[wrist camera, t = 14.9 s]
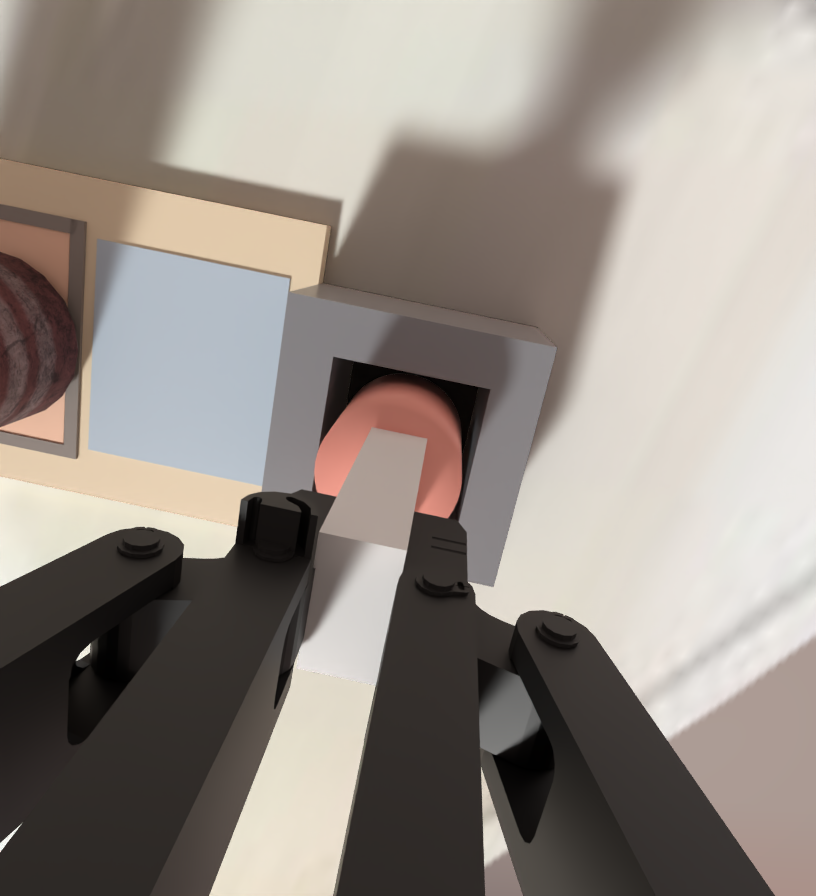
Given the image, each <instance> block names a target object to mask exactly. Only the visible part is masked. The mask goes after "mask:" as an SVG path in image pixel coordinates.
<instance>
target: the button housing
mask: <svg viewBox="0 0 816 896" xmlns="http://www.w3.org/2000/svg"><path fill="white" fill-rule="evenodd" d="M556 351H557V347H556V346H555V345H554V344H553V343H552V342H551V341H550V340H549V339H548V338H547V337H546V336H545V334H544V333H543V332H542V331H541V330H540V329H539V328H538V327H533V326H528V325H523V324H519V323H514V322H509V321H504V320H499V319H494V318H489V317H485V316H480V315H475V314H470V313H465V312H460V311H456V310H451V309H446V308H441V307H436V306H431V305H426V304H422V303H417V302H412V301H407V300H402V299H397V298H393V297H388V296H383V295H378V294H373V293H368V292H363V291H359V290H354V289H349V288H344V287H339V286H334V285H330V284H325V283H321V284H317V285H313V286H310V287H306V288H302V289H298V290H294V291H290V292H288V297H287V304H286V312H285V319H284V327H283V334H282V342H281V349H280V357H279V364H278V372H277V379H276V387H275V394H274V402H273V409H272V417H271V424H270V432H269V439H268V447H267V454H266V462H265V469H264V476H263V484H262V491H261V492H273V491H275V492H283V493H290V494H292V493H294V492H296V491H299V490H301V489H303V490H308V491H313V492H317V490H316V484H315V475H314V469H315V461H316V456H317V453H318V450H319V447H320V445H321V443H322V441H323V439H324V438H325V436H326V435H327V433H328V432H329V430H330V429H331V428H332V426H333V425H334V423H335V422H336V421H337V419H338V418H339V416H340V415H341V414H342V412H343V411H344V409H345V408H346V404H347V398H348V393H349V387H350V381H351V375H352V369H353V363H354V361H357V362H361V363H366V364H371V365H376V366H381V367H385V368H390V369H395V370H400V371H405V372H410V373H414V374H419V375H424V376H429V377H434V378H438V379H443V380H448V381H453V382H458V383H462V384H467V385H472V386H477V387H478V391H477V395H476V400H475V404H474V408H473V413H472V417H471V421H470V425H469V430H468V434H467V438H466V443H465V447H464V451H463V455H462V484H461V490H460V495H459V498H458V501H457V503H456V505H455V508H454V510H453V511H452V513H451V514H450V516H449V517H448V519H452V520H457V521H458V522H459V523H460V524H461V526H462V527H463V528H464V529H465V531H466V532H467V571H468V582H473V583H477V584H482V585H487V586H491V587H494V583H495V579H496V576H497V572H498V568H499V564H500V561H501V557H502V553H503V549H504V546H505V542H506V538H507V534H508V531H509V527H510V523H511V519H512V516H513V512H514V508H515V504H516V501H517V497H518V493H519V489H520V486H521V482H522V478H523V474H524V471H525V467H526V463H527V460H528V456H529V452H530V448H531V445H532V441H533V437H534V433H535V430H536V426H537V422H538V418H539V415H540V411H541V407H542V403H543V400H544V396H545V392H546V388H547V385H548V381H549V377H550V373H551V370H552V366H553V362H554V358H555V355H556Z"/></svg>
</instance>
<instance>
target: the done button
mask: <svg viewBox="0 0 816 896" xmlns="http://www.w3.org/2000/svg"><path fill="white" fill-rule="evenodd" d="M372 427H374V428H379V429H384V430H388V431H393V432H398V433H403V434H407V435H412V436H417V437H422V438H426V439H427V444H426V450H425V455H424V461H423V466H422V472H421V477H420V483H419V488H418V493H417V499H416V504H415V510H414V511H415V512H419V513H424V514H429V515H434V516H438V517H443V518H448V517H449V516H450V514H451V513H452V511H453V510H454V508H455V505H456V503H457V501H458V498H459V495H460V490H461V484H462V445H461V422H460V418H459V414H458V412H457V409H456V407H455V405H454V404H453V402H452V400H451V399H450V398H449V396H448V395H447V394H446V393H445V392H444V391H443V390H442V389H441V388H440V387H439V386H437V385H436V384H434V383H433V382H431V381H429V380H427V379H425V378H423V377H420V376H416V375H412V374H400V373H397V374H389V375H385V376H382V377H379V378H377V379H374V380H373V381H371V382H369V383H367V384H366V385H365V386H363V387H362V388H361V389H360V390H359V391H358V392H357V393H356V394H355V396H354V397H353V398H352V400H351V401H350V402H349V404H348V405H347V407H346V408H345V409H344V411H343V412H342V414H341V415H340V416H339V418H338V419H337V421H336V422H335V423H334V425H333V426H332V428H331V429H330V430H329V432H328V433H327V435H326V436H325V438H324V439H323V441H322V443H321V445H320V447H319V450H318V453H317V456H316V461H315V469H314V475H315V484H316V490H317V493H322V494H327V495H331V496H336V497H337V495H338V493H339V491H340V489H341V487H342V485H343V483H344V481H345V479H346V477H347V475H348V474H349V472H350V470H351V468H352V466H353V464H354V462H355V460H356V458H357V456H358V454H359V452H360V450H361V448H362V446H363V444H364V442H365V440H366V438H367V436H368V434H369V432H370V430H371V428H372Z"/></svg>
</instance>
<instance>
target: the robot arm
mask: <svg viewBox="0 0 816 896" xmlns="http://www.w3.org/2000/svg"><path fill="white" fill-rule="evenodd" d="M426 444H427V439H426V438H422V437H417V436H412V435H407V434H403V433H398V432H393V431H388V430H384V429H379V428H374V427H372V428H371V430H370V432H369V434H368V436H367V438H366V440H365V442H364V444H363V446H362V448H361V450H360V452H359V454H358V456H357V458H356V460H355V462H354V464H353V466H352V468H351V470H350V472H349V474H348V475H347V477H346V479H345V481H344V483H343V485H342V487H341V489H340V491H339V493H338V495H337V497H336V496H331V495H327V494H322V493H317V492H313V491H308V490H303V489H301V490H299V491H296V492H294V493H292V494H290V493H283V492H275V491H273V492H258V493H253V494H249V495H247V496H246V497H244V498H243V499H241V503H240V511H239V519H238V527H237V535H236V543H235V545H234V546H233V547H232V549H231V550H230V551H229V553H228V554H227V555H226V557H225V558H218V559H196V558H183V549H184V544H183V543H182V542H181V540H180V539H179V538H178V537H176V536H174V535H172V534H171V533H169V532H165V531H161V530H157V529H155V528H149V527H147V528H145V527H135V528H131V529H123V530H119V531H116V532H113V533H110V534H107V535H105V536H103V537H101V538H99V539H97V540H95V541H93V542H91V543H89V544H87V545H85V546H82V547H80V548H78V549H76V550H74V551H72V552H70V553H68V554H66V555H64V556H62V557H60V558H58V559H56V560H54V561H52V562H50V563H48V564H46V565H44V566H42V567H40V568H38V569H36V570H34V571H32V572H29V573H27V574H25V575H23V576H21V577H19V578H17V579H15V580H13V581H11V582H9V583H7V584H5V585H3V586H1V587H0V843H1V842H2V841H3V840H4V839H5V838H6V837H7V836H8V835H9V834H10V833H12V832H13V831H14V830H15V829H16V828H17V827H18V826H19V825H20V824H22V825H21V826H20V827H19V828H18V830H17V831H16V832H15V834H14V835H13V836H12V838H11V839H10V840H9V842H8V843H7V844H6V846H5V847H4V848H3V849H2V851H1V852H0V896H209V894H210V892H211V889H212V886H213V884H214V881H215V879H216V876H217V874H218V871H219V868H220V866H221V863H222V861H223V858H224V855H225V853H226V850H227V848H228V845H229V843H230V840H231V837H232V835H233V832H234V830H235V827H236V825H237V822H238V819H239V817H240V814H241V812H242V809H243V807H244V804H245V801H246V799H247V796H248V794H249V791H250V789H251V786H252V783H253V781H254V778H255V776H256V773H257V771H258V768H259V765H260V763H261V760H262V758H263V755H264V753H265V750H266V747H267V745H268V742H269V740H270V737H271V735H272V732H273V729H274V727H275V724H276V722H277V719H278V717H279V714H280V711H281V709H282V706H283V704H284V701H285V699H286V696H287V693H288V691H289V688H290V684H291V678H292V672H293V666H294V661H295V659H296V657H297V654H298V652H299V655H298V661H297V667H296V668H297V669H301V670H306V671H311V672H315V673H320V674H324V675H329V676H333V677H338V678H343V679H347V680H352V681H356V682H361V683H366V684H370V685H375V686H376V687H375V692H374V697H373V701H372V706H371V711H370V715H369V720H368V725H367V729H366V734H365V739H364V740H365V741H364V746H363V751H362V756H361V761H360V765H359V770H358V775H357V780H356V785H355V790H354V795H353V800H352V805H351V810H350V815H349V820H348V825H347V830H346V835H345V840H344V845H343V850H342V855H341V860H340V864H339V869H338V874H337V879H336V884H335V889H334V894H333V896H485V883H484V882H485V881H484V849H483V819H482V788H481V767H482V770H483V773H484V776H485V780H486V783H487V786H488V789H489V792H490V795H491V798H492V801H493V804H494V807H495V810H496V813H497V817H498V820H499V823H500V826H501V829H502V832H503V835H504V838H505V841H506V844H507V847H508V850H509V854H510V857H511V860H512V863H513V866H514V869H515V872H516V875H517V878H518V881H519V884H520V887H521V891H522V893H523V896H775V895H774V894H773V892H772V891H771V890H770V888H769V887H768V885H767V884H766V882H765V881H764V879H763V878H762V876H761V875H760V873H759V872H758V871H757V869H756V868H755V866H754V865H753V863H752V862H751V861H750V859H749V858H748V856H747V855H746V853H745V852H744V850H743V849H742V848H741V846H740V845H739V843H738V842H737V840H736V839H735V838H734V836H733V835H732V833H731V832H730V830H729V829H728V827H727V826H726V825H725V823H724V822H723V820H722V819H721V817H720V816H719V815H718V813H717V812H716V810H715V809H714V807H713V806H712V804H711V803H710V802H709V800H708V799H707V797H706V796H705V794H704V793H703V791H702V790H701V789H700V787H699V786H698V784H697V783H696V781H695V780H694V779H693V777H692V776H691V774H690V773H689V771H688V770H687V769H686V767H685V765H684V764H683V763H682V761H681V760H680V758H679V757H678V756H677V754H676V753H675V751H674V750H673V748H672V747H671V745H670V744H669V742H668V741H667V740H666V738H665V737H664V735H663V734H662V732H661V731H660V729H659V728H658V727H657V725H656V724H655V722H654V721H653V719H652V718H651V716H650V715H649V714H648V712H647V711H646V709H645V708H644V706H643V705H642V704H641V702H640V701H639V699H638V698H637V696H636V695H635V693H634V692H633V691H632V689H631V688H630V686H629V685H628V683H627V682H626V680H625V679H624V678H623V676H622V675H621V673H620V672H619V670H618V669H617V668H616V666H615V665H614V663H613V662H612V660H611V659H610V657H609V656H608V655H607V653H606V652H605V650H604V649H603V647H602V646H601V644H600V643H599V642H598V640H597V639H596V637H595V636H594V635H593V634H592V633H591V632H590V631H589V630H588V629H587V628H586V627H585V626H583V625H581V624H580V623H578V622H577V621H575V620H574V619H573V618H571V617H568V616H566V615H565V616H564V615H563V614H561V613H557V612H549V611H544V610H539V611H528V612H526V613H524V614H521V615H520V617H519V618H518V620H517V622H516V625H515V626H513V625H511V624H508V623H506V622H503V621H501V620H499V619H497V618H495V617H493V616H491V615H489V614H487V613H486V612H484V611H483V610H481V609H480V608H479V607H478V606H477V605H476V603H475V593H474V590H473V587H472V586H471V585H470V584H469V583H468V571H467V532H466V531H465V529H464V528H463V527H462V526H461V524H460V523H459V522H458V521H457V520H452V519H448V518H443V517H438V516H434V515H429V514H424V513H419V512H415V511H414V510H415V504H416V499H417V493H418V488H419V483H420V477H421V472H422V466H423V461H424V455H425V450H426ZM90 643H91V646H90V653H89V654H87V655H86V656H85V657H83V658H82V659H80V660H78V661H76V659H77V658H78V656H79V654H80V653H81V652H82V651H83V650H84V649H85V648H86V647H87V646H88V645H89V644H90Z"/></svg>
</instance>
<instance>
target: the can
mask: <svg viewBox="0 0 816 896" xmlns="http://www.w3.org/2000/svg"><path fill="white" fill-rule="evenodd" d="M77 355H78V341H77V334H76V328H75V323H74V321H73V318H72V316H71V314H70V312H69V310H68V307H67V305H66V303H65V301H64V300H63V298H62V297H61V296H60V295H59V293H58V292H57V291H56V290H55V288H54V287H53V286H52V285H51V284H50V282H49V281H48V280H47V279H46V277H45V276H44V275H42V274H41V273H40V272H38V271H37V270H35V269H34V268H33V267H31V266H30V265H28V264H27V263H26V262H24V261H23V260H21V259H20V258H17V257H14V256H11V255H8V254H5V253H2V252H0V427H3V426H5V425H8V424H11V423H13V422H16V421H19V420H21V419H24V418H26V417H29V416H32V415H34V414H37V413H40V412H42V411H45V410H46V409H48V408H49V407H50V406H51V405H52V404H54V403H55V402H56V401H57V400H59V399H60V398H61V397H62V396H63V395H64V393H65V391H66V389H67V388H68V386H69V384H70V382H71V380H72V379H73V377H74V373H75V367H76V361H77Z"/></svg>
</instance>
